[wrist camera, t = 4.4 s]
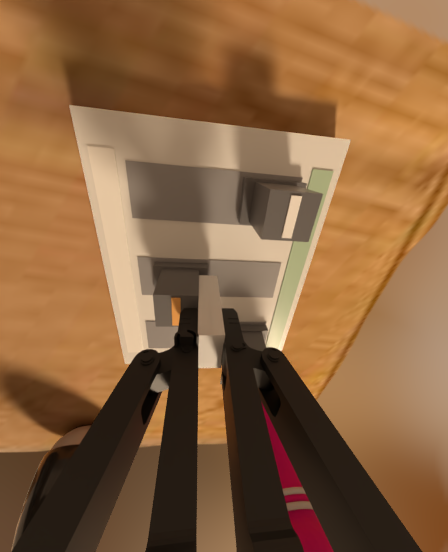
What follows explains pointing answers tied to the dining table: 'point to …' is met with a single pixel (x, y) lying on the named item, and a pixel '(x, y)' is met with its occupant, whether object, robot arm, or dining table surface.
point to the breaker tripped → (175, 290)
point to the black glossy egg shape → (48, 476)
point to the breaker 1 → (255, 336)
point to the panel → (196, 213)
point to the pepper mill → (297, 499)
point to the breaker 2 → (279, 208)
